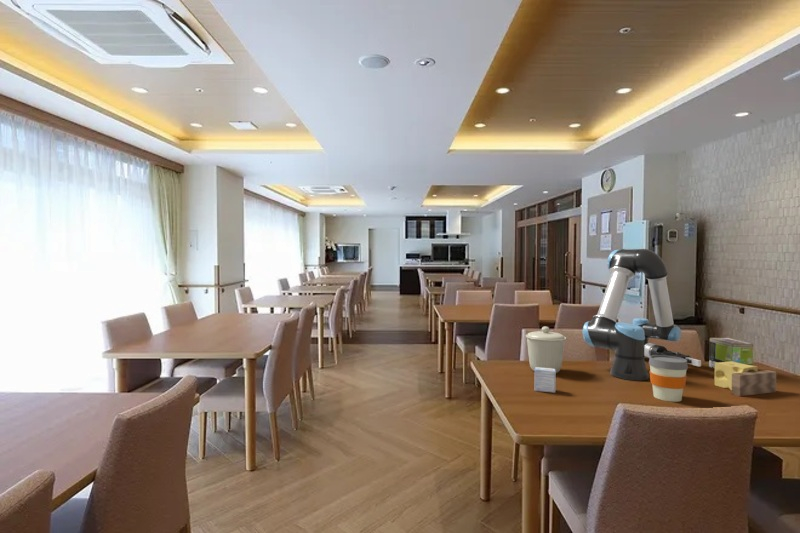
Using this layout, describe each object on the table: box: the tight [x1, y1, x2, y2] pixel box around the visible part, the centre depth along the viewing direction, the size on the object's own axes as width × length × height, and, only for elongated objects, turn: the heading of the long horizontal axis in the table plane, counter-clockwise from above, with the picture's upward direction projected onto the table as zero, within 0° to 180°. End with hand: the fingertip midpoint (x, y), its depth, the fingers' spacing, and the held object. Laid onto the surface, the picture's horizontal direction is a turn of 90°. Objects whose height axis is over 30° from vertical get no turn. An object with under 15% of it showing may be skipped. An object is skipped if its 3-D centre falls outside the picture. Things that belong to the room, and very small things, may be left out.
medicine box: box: [534, 367, 557, 393], centre depth 167 cm, size 8×4×9 cm, turn 71°
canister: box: [525, 326, 567, 374], centre depth 196 cm, size 18×18×21 cm
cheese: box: [714, 361, 759, 391], centre depth 172 cm, size 10×11×10 cm
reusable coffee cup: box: [648, 355, 689, 403], centre depth 159 cm, size 13×13×15 cm
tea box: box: [708, 337, 754, 369], centre depth 199 cm, size 15×10×15 cm, turn 179°
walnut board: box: [731, 369, 777, 397], centre depth 166 cm, size 20×3×8 cm, turn 106°
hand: (699, 363), depth 189 cm, fingers closed
